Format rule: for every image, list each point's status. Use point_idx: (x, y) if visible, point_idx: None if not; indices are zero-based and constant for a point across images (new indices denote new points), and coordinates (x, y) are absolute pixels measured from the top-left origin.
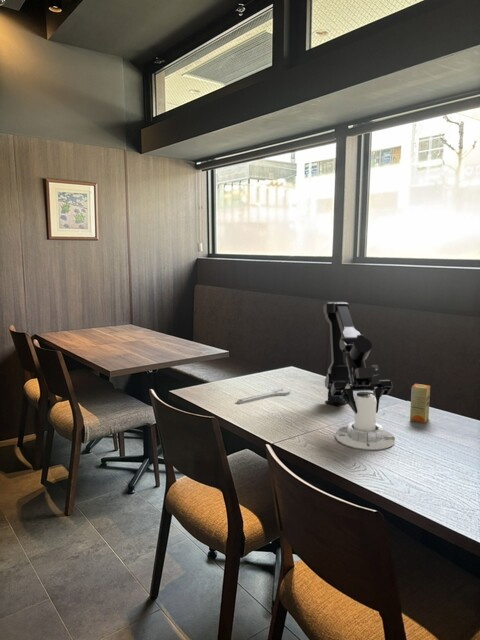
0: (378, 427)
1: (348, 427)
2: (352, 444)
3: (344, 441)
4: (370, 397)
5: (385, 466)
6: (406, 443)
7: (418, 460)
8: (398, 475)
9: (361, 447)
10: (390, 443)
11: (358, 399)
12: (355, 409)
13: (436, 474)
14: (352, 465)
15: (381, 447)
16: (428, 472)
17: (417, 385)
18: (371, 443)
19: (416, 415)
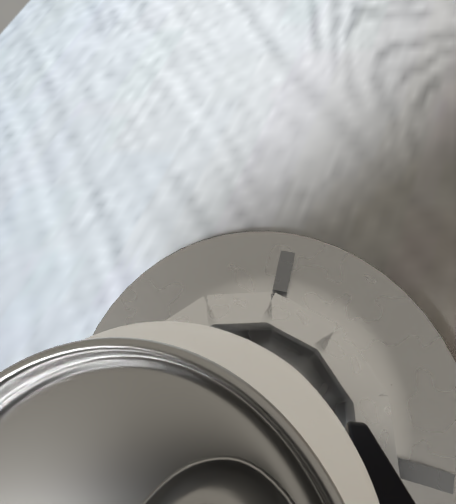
0: None
1: (396, 452)
2: (383, 289)
3: (429, 346)
4: (89, 340)
5: (278, 77)
6: (54, 306)
7: (112, 127)
8: (258, 14)
9: (335, 246)
10: (146, 279)
11: (361, 490)
12: (377, 453)
13: (117, 27)
14: (437, 84)
15: (218, 236)
16: (135, 39)
17: None
18: (254, 292)
19: None
